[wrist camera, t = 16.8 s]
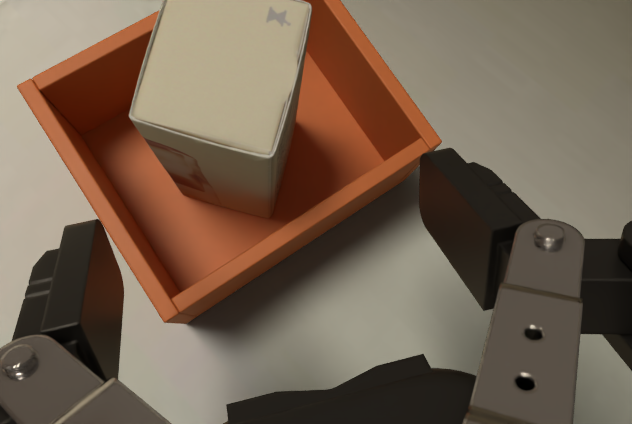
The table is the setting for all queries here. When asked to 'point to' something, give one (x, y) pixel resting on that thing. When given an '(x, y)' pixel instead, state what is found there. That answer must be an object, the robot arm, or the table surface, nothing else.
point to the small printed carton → (224, 96)
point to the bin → (212, 220)
